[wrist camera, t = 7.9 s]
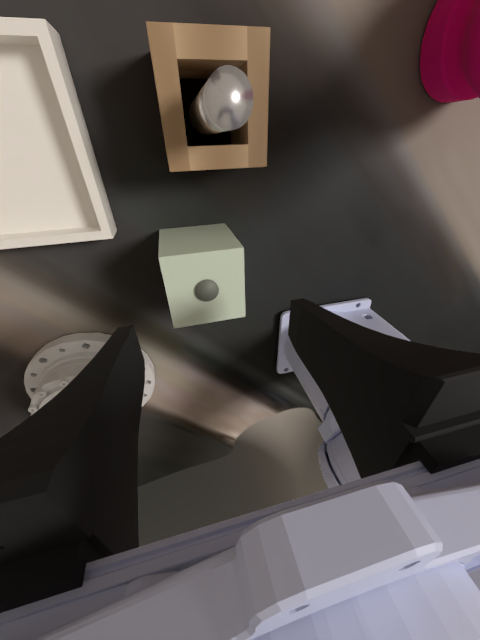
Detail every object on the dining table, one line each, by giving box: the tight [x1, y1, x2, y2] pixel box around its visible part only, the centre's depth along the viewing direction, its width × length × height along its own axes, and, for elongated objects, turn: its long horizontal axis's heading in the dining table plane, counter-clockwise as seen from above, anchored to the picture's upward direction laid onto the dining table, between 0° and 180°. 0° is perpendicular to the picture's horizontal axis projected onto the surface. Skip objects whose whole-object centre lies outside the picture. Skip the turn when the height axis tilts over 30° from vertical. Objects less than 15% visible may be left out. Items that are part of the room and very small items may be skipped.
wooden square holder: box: [146, 21, 270, 172], centre depth 13 cm, size 5×5×4 cm
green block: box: [158, 223, 245, 328], centre depth 17 cm, size 5×5×6 cm
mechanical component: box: [24, 332, 155, 415], centre depth 22 cm, size 10×4×10 cm
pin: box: [189, 65, 254, 135], centre depth 12 cm, size 2×2×7 cm
